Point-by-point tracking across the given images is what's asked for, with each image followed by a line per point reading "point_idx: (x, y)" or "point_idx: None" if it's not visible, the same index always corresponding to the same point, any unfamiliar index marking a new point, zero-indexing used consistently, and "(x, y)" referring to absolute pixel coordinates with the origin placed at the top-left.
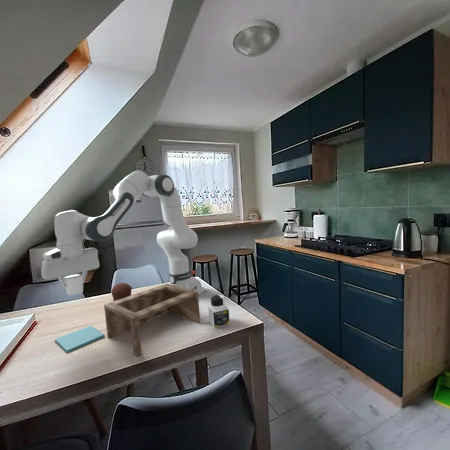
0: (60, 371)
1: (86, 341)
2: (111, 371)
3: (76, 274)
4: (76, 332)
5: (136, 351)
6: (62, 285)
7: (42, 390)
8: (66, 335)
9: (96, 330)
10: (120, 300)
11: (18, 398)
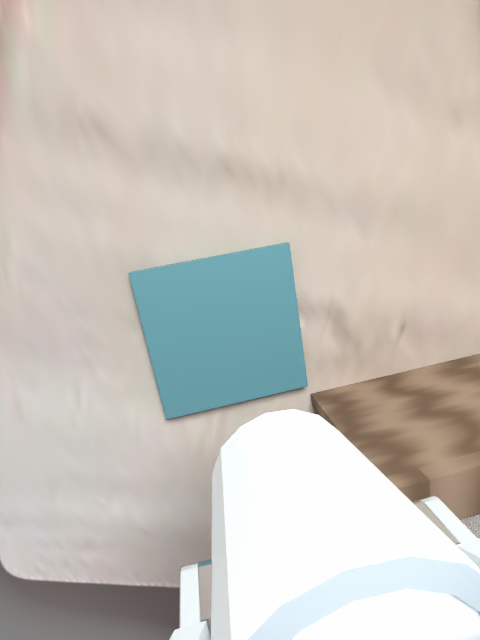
0: (140, 515)
1: (239, 398)
2: None
3: (451, 588)
4: (220, 274)
5: None
6: (180, 580)
7: (94, 574)
8: (177, 272)
9: (294, 322)
10: (473, 488)
11: (36, 574)
